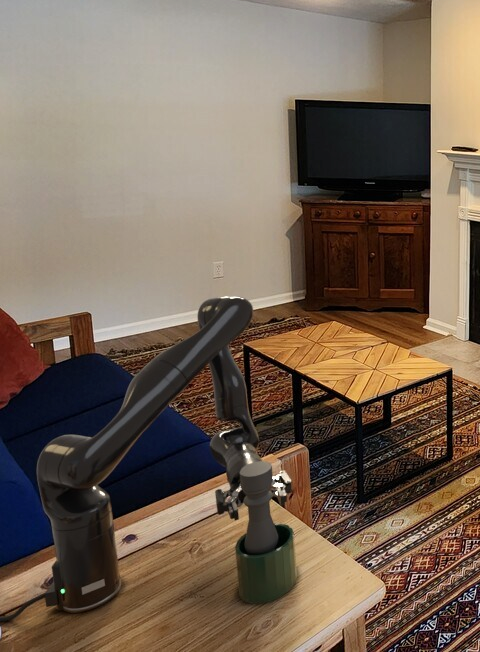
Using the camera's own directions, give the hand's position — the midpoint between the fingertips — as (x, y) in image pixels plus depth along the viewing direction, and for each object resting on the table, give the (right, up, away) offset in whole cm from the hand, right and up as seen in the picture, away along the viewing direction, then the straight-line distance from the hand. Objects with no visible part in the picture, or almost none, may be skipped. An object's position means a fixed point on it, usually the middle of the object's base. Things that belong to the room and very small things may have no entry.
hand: (260, 508), depth 125 cm
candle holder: (+1, -15, 0) cm, 15 cm away
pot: (+1, -16, 0) cm, 16 cm away
